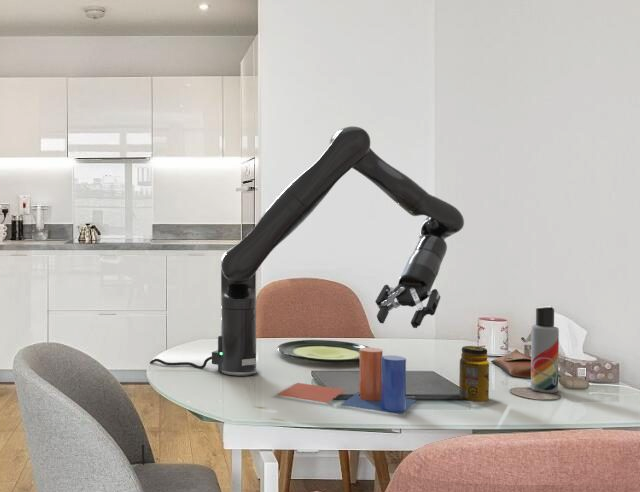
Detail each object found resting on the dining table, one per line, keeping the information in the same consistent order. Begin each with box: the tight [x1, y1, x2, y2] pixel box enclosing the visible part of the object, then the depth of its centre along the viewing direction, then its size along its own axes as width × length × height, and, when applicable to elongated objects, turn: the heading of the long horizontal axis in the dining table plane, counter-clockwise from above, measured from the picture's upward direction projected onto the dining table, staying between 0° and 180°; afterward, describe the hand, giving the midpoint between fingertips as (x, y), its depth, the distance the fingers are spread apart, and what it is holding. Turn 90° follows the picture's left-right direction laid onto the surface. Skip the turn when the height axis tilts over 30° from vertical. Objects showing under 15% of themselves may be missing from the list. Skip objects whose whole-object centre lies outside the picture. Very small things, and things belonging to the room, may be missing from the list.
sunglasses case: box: [490, 349, 531, 379], centre depth 191 cm, size 18×7×7 cm
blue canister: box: [381, 354, 407, 413], centre depth 153 cm, size 5×5×11 cm
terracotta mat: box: [276, 382, 346, 404], centre depth 167 cm, size 12×13×1 cm
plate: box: [276, 339, 372, 363], centre depth 208 cm, size 28×28×2 cm
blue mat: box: [340, 391, 417, 415], centre depth 158 cm, size 13×13×1 cm
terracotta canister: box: [358, 346, 384, 401], centre depth 162 cm, size 5×5×11 cm
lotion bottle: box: [530, 306, 560, 394], centre depth 171 cm, size 6×6×20 cm
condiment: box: [458, 345, 490, 403], centre depth 161 cm, size 7×8×12 cm
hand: (396, 323), depth 169 cm, fingers open, 8 cm apart
